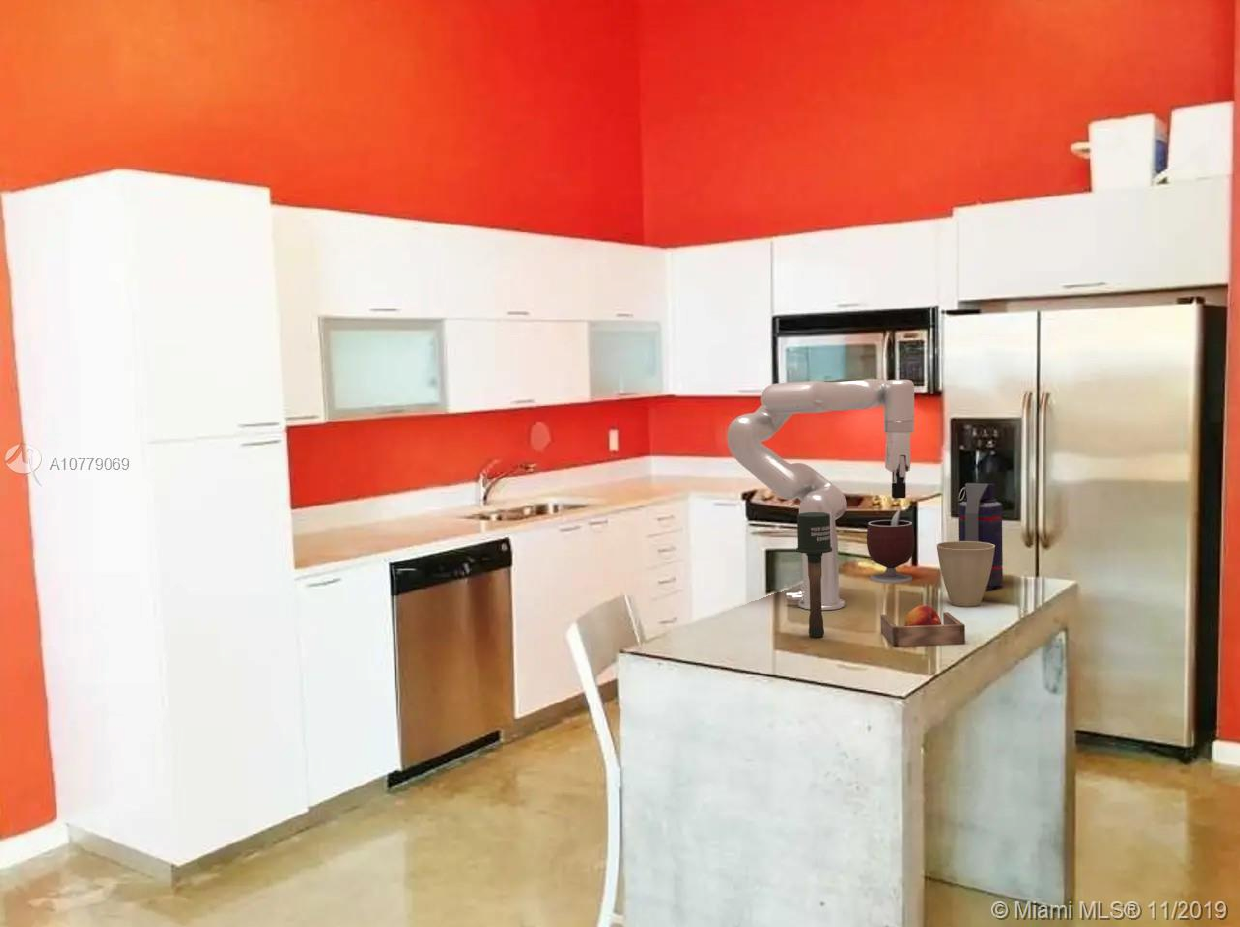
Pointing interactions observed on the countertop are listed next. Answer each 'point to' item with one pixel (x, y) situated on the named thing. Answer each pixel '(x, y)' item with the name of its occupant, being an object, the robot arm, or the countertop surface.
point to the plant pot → (965, 570)
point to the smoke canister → (983, 524)
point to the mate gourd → (890, 547)
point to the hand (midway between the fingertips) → (898, 497)
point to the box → (924, 633)
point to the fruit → (922, 617)
